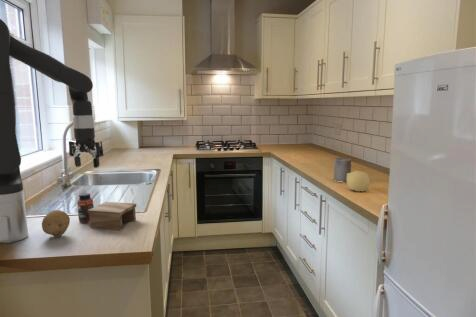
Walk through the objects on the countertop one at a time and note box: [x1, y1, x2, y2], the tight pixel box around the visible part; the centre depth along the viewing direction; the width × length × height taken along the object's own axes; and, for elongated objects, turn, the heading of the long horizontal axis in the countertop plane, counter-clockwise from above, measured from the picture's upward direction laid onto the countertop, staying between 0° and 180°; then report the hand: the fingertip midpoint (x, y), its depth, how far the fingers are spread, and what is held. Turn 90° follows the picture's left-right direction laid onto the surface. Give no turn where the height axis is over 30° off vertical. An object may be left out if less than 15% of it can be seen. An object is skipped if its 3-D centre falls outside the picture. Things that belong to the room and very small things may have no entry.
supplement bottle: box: [76, 192, 95, 223], centre depth 143 cm, size 6×6×11 cm
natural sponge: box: [41, 209, 71, 238], centre depth 125 cm, size 9×9×10 cm
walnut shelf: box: [87, 201, 137, 231], centre depth 139 cm, size 12×14×7 cm
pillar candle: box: [333, 157, 352, 182], centre depth 210 cm, size 10×10×15 cm
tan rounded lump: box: [346, 170, 371, 192], centre depth 188 cm, size 11×12×11 cm
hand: (87, 166), depth 141 cm, fingers open, 8 cm apart
